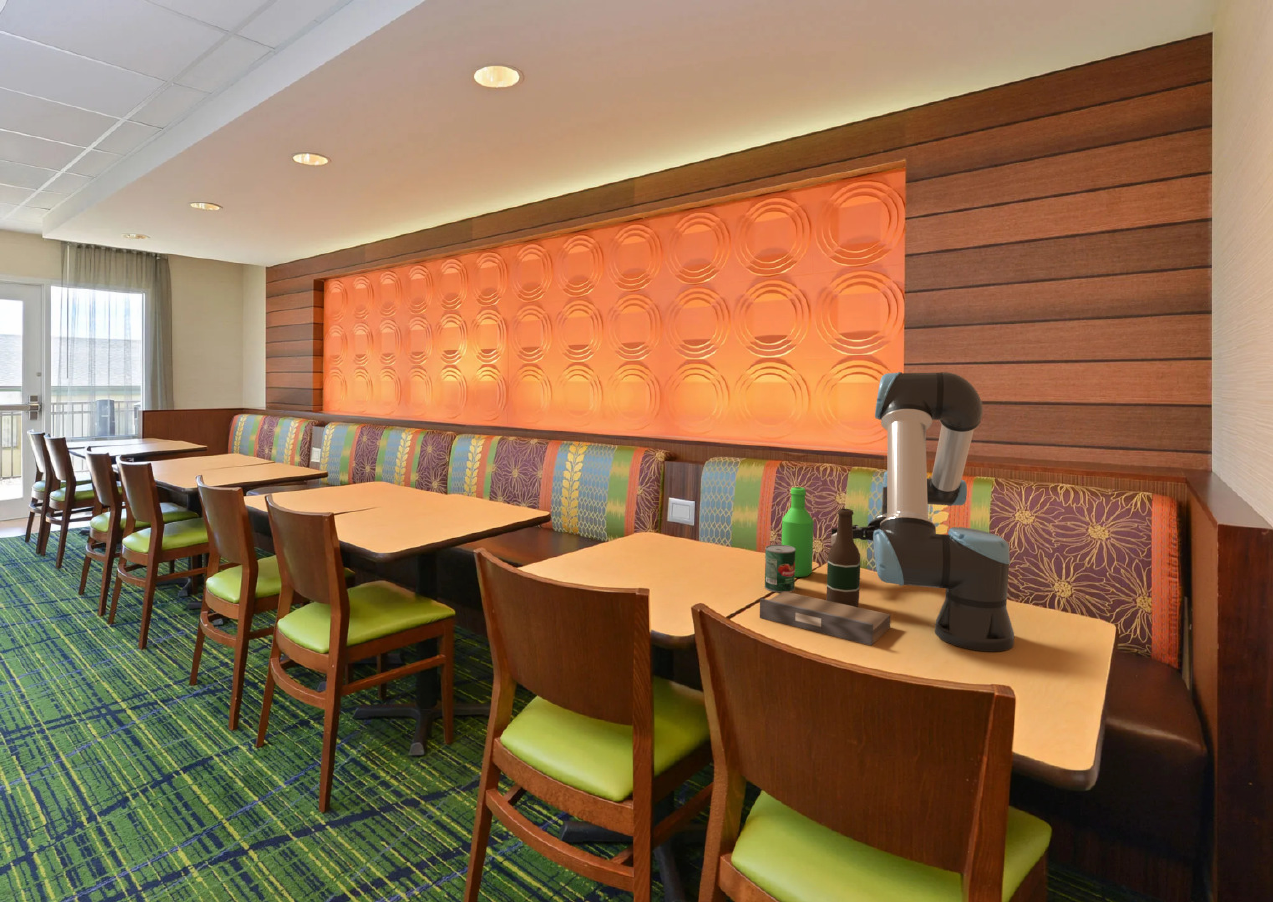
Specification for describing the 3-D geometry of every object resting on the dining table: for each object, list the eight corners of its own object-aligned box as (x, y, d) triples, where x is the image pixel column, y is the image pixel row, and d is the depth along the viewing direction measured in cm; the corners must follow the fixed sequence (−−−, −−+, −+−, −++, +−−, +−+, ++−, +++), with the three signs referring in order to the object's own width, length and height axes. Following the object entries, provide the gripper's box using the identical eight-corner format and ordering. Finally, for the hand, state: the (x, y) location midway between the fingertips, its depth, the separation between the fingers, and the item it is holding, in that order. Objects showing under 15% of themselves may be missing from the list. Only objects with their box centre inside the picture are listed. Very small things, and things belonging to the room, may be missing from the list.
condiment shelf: (890, 627, 145) (890, 607, 145) (870, 645, 135) (871, 625, 135) (783, 602, 161) (784, 585, 161) (759, 617, 151) (759, 599, 151)
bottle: (776, 569, 190) (778, 485, 187) (805, 568, 190) (807, 485, 188) (786, 578, 181) (788, 490, 178) (816, 577, 182) (819, 490, 179)
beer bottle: (861, 610, 155) (864, 513, 153) (827, 608, 157) (830, 512, 154) (856, 600, 163) (860, 507, 160) (824, 598, 165) (827, 505, 162)
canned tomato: (768, 581, 178) (769, 543, 177) (797, 585, 175) (798, 546, 173) (761, 590, 171) (761, 550, 170) (791, 594, 167) (791, 553, 166)
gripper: (930, 549, 175) (907, 567, 159) (841, 535, 191) (811, 550, 174) (931, 522, 175) (909, 537, 158) (841, 510, 190) (812, 523, 173)
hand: (858, 544), depth 166 cm, fingers open, 13 cm apart
